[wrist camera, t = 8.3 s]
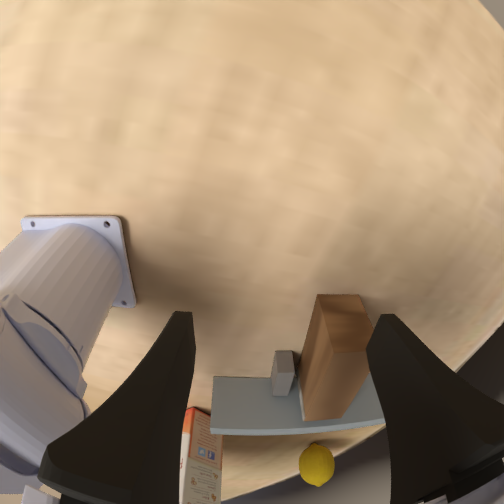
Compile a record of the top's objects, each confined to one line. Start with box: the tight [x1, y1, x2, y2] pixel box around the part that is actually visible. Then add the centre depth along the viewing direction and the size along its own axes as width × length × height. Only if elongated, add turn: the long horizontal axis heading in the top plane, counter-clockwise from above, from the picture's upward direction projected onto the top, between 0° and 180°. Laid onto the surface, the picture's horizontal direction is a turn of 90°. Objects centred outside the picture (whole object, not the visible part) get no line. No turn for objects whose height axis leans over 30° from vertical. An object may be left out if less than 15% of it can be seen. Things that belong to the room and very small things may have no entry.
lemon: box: [299, 443, 334, 486], centre depth 36 cm, size 6×6×8 cm
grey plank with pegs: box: [210, 351, 385, 435], centre depth 25 cm, size 20×6×6 cm, turn 87°
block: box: [296, 294, 374, 421], centre depth 23 cm, size 4×10×6 cm, turn 176°
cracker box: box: [179, 407, 223, 504], centre depth 26 cm, size 14×6×21 cm, turn 130°
